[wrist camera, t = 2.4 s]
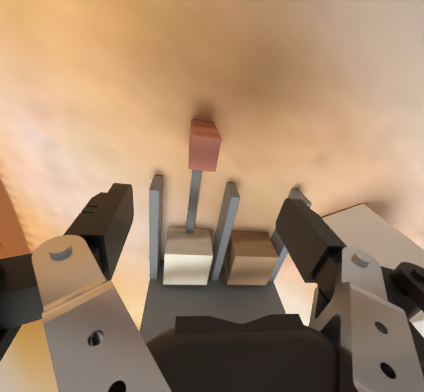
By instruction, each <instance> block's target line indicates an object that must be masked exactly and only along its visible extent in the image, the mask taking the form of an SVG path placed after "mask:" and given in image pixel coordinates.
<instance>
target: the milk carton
mask: <svg viewBox="0 0 424 392" xmlns="http://www.w3.org/2000/svg"><path fill="white" fill-rule="evenodd" d="M322 219H323V220H324V223H326V224H327V225H328V226H329V228H331V229H332V230H333V231H334V232H335V233H336V235H337V236H338V237H339V238H340V239H341V240H342V241H343V242H344V243H345V245H346V246H347V247H354V248H358V249H360V250H362V251H364V252H366V253H368V254H369V255H371V256H372V257H373V258H374V259H375V260H376V261H377V262H378V263H379V265H380V266H383V267H386V268H390V269H393V270H394V269H395V268H396V267H397V266H398V265H399V264H400V263H401V262H409V263H413V264H415V265H418V266H420V267H422V268H424V250H423V249H422V248H420V247H419V246H418V245H417V244H415V243H414V242H413V241H411V240H410V239H409V238H407V237H406V236H405V235H404V234H402V233H401V232H400V231H398V230H397V229H396V228H394V227H393V226H392V225H391V224H389V223H388V222H387V221H385V220H384V219H383V218H381V217H380V216H379V215H378V214H376V213H375V212H374V211H372V210H371V209H370V208H368V207H367V206H366V205H364V204H360V205H357V206H355V207H352V208H349V209H346V210H343V211H340V212H337V213H334V214H332V215H329V216H326V217H323V218H322ZM409 321H410V322H411V323H412V324H413V325H414V327H415V328H416V329H417V330H418V331H419V333H420V334H421V335H422V336H423V337H424V312H423V311H422V310H421V311H420V312H418V313H417V314H416V315H415V316H413V317H412V318H411V319H410V320H409Z"/></svg>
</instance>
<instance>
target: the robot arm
mask: <svg viewBox="0 0 424 392" xmlns="http://www.w3.org/2000/svg"><path fill="white" fill-rule="evenodd" d="M133 215H134V208H133V191H132V185H131V184H120V183H114V184H113V185H112V187H111V188H110V190H109V191H108V193H102V192H101V193H99V194H98V195H96V196H94V197H93V198H91V200H90V201H89V202H88V204H87V205H86V207H85V208H84V209H83V210H82V213H80V214H79V215H78V217H77V218H76V219H75V221H74V222H73V223H72V225H71V226H70V227H69V228H68V230H67V231H66V232H65V234H64V235H63V236H58V237H55V238H52V239H50V240H47V241H46V242H44V243H42V244H41V245H40V246H39V247H37V248H36V250H35V251H34V252H33V253H31V254H27V255H21V256H16V257H10V258H5V259H0V361H1V359H2V357H3V356H4V354H5V352H6V351H7V349H8V347H9V346H10V344H11V342H12V340H13V339H14V337H15V336H16V334H17V332H18V331H19V329H20V327H21V325H22V324H26V323H29V322H33V321H36V320H39V319H43V325H44V329H45V333H46V338H47V342H48V347H49V351H50V355H51V360H52V364H53V368H54V373H55V377H56V381H57V385H58V390H59V392H424V337H423V336H422V335H421V334H420V333H419V331H418V330H417V329H416V328H415V327H414V325H413V324H412V323H411V322H410V321H409V320H410V319H411V318H412V317H413V316H415V315H416V314H417V313H418V312H420V311H421V310H422V311H423V312H424V268H422V267H420V266H418V265H415V264H413V263H409V262H401V263H400V264H399V265H398V266H397V267H396V268H395V269H394V270H393V269H390V268H386V267H383V266H380V265H379V263H378V262H377V261H376V260H375V259H374V258H373V257H372V256H371V255H369V254H368V253H366V252H364V251H362V250H360V249H358V248H354V247H347V246H346V245H345V243H344V242H343V241H342V240H341V239H340V238H339V237H338V236H337V235H336V233H335V232H334V231H333V230H332V229H331V228H329V226H328V225H327V224H326V223H324V220H323V219H322V218H321V217H320V216H319V215H318V214H317V213H315V212H314V211H312V210H311V209H310V208H309V207H308V205H307V204H306V203H305V202H304V201H303V200H302V199H294V198H287V199H286V200H285V201H284V203H283V206H282V208H281V210H280V213H279V215H278V218H277V220H276V230H277V233H278V234H279V236H280V238H281V240H282V242H283V243H284V245H285V247H286V249H287V251H288V252H289V254H290V256H291V258H292V260H293V262H294V263H295V265H296V267H297V269H298V271H299V272H300V274H301V276H302V278H303V280H304V281H305V283H317V285H318V286H317V288H316V289H315V292H314V298H313V305H312V311H311V317H310V323H309V326H305V325H303V323H302V321H301V319H300V316H299V314H270V315H268V316H265V317H262V318H259V319H256V320H253V321H250V322H247V323H244V324H239V323H235V322H231V321H227V320H223V319H219V318H215V317H211V316H176V319H175V327H173V328H169V329H167V330H165V331H163V332H160V333H159V334H157V335H155V336H154V337H152V338H151V339H149V340H148V341H147V342H146V343H145V342H144V340H143V338H142V336H141V334H140V333H139V331H138V329H137V327H136V325H135V323H134V322H133V320H132V318H131V316H130V314H129V312H128V311H127V309H126V307H125V305H124V303H123V301H122V300H121V298H120V296H119V294H118V292H117V290H116V289H115V287H114V285H113V283H112V282H111V281H110V280H111V279H112V276H113V273H114V271H115V268H116V265H117V262H118V260H119V257H120V254H121V252H122V249H123V246H124V244H125V241H126V238H127V235H128V233H129V230H130V227H131V225H132V222H133Z"/></svg>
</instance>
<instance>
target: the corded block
mask: <svg viewBox="0 0 424 392" xmlns="http://www.w3.org/2000/svg"><path fill="white" fill-rule="evenodd" d="M220 143H221V137H220V135H219V132H218V130H217V128H216V126H215V124H214V123H213V122H206V121H199V120H192V122H191V132H190V143H189V169H193V172H192V181H191V190H190V198H189V207H188V216H187V225H186V228H178V227H168V234H167V241H166V248H165V256H164V277H163V284H168V285H207V280H208V276H209V271H210V267H211V263H212V258H213V251H212V243H211V235H210V229H195V228H194V222H195V215H196V208H197V201H198V194H199V187H200V180H201V173H202V170H203V171H213V172H215V171H216V165H217V160H218V154H219V149H220Z"/></svg>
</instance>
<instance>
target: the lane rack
mask: <svg viewBox="0 0 424 392" xmlns="http://www.w3.org/2000/svg"><path fill="white" fill-rule="evenodd" d="M162 186H163V176H156V175H154V178H153V181H152V183H151V186H150V189H149V226H150V282H149V287H148V292H147V297H146V302H145V307H144V312H143V317H142V322H141V328H140V334H141V336H142V338H143V340H144V342H145V343H146V342H147V341H148V340H149V339H151V338H152V337H154V336H155V335H157V334H159V333H160V332H163V331H165V330H167V329H169V328H173V327H175V319H176V316H211V317H215V318H219V319H223V320H227V321H231V322H235V323H239V324H244V323H247V322H250V321H253V320H256V319H259V318H262V317H265V316H268V315H270V314H286V313H285V310H284V308H283V305H282V303H281V300H280V298H279V295H278V292H277V290H276V287H275V285H274V282H273V281H274V279H275V277H276V275H277V273H278V271H279V269H280V267H281V265H282V263H283V261H284V259H285V257H286V255H287V253H288V251H287V249H286V247H285V245H284V243H283V242H282V240H281V238H280V236H279V234H278V233H277V230H276V228H275V231H274V233H273V236H272V238H271V242H272V244H273V246H274V248H275V250H276V252H277V255H278V257H279V258H278V261H277V263H276V265H275V267H274V269H273V271H272V274H271V276H270V278H269V280H268V282H267V284H266V285H227V282H226V276H225V270H224V264H223V260H224V256H225V252H226V249H227V245H228V241H229V238H230V234H231V230H232V226H233V223H234V219H235V215H236V212H237V208H238V204H239V200H240V196H239V193H238V191H237V188H236V186H235V183H227V184H226V189H225V194H224V198H223V203H222V207H221V212H220V216H219V221H218V226H217V230H216V235H215V239H214V244H213V249H212V251H213V258H212V263H211V267H210V271H209V276H208V280H207V285H168V284H163V277H164V260H160V250H161V218H162ZM288 198H294V199H302V200H303V201H304V202H305V203H306V204H307V205H308V207H309V208H310V207H311V205H312V203H311V202H310V201H309V200H308V199H307V198H306V197H305V196H304V195H303V194H302V192H301V191H300V190H299V189H292V190H291V192H290V195H289V197H288Z"/></svg>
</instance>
